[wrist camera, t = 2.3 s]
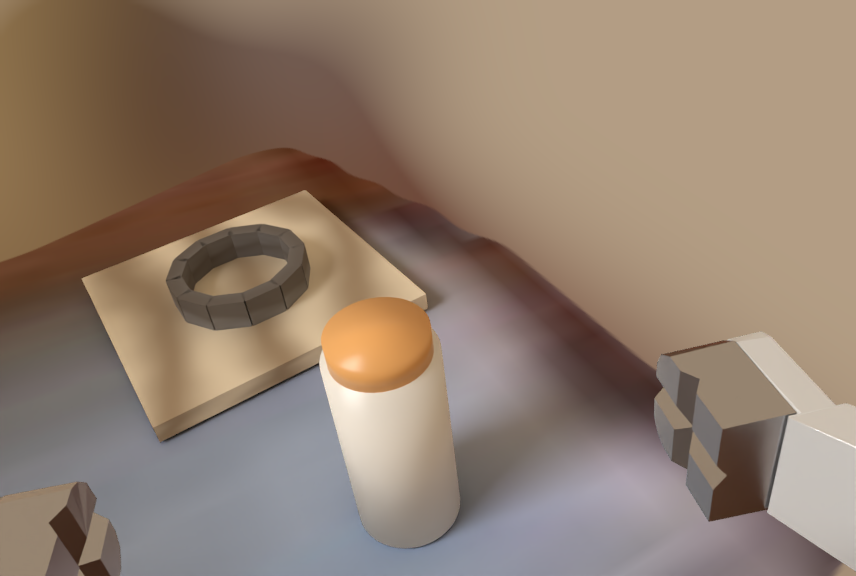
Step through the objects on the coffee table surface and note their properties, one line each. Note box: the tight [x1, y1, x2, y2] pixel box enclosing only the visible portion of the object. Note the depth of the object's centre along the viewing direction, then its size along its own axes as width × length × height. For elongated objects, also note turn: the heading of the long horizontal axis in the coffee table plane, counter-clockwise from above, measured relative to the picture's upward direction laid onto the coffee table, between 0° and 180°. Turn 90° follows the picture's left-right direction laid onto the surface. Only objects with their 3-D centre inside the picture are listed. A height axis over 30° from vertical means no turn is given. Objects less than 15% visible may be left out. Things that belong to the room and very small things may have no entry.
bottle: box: [319, 297, 460, 548], centre depth 32 cm, size 5×5×11 cm
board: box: [82, 190, 428, 442], centre depth 50 cm, size 18×18×3 cm
